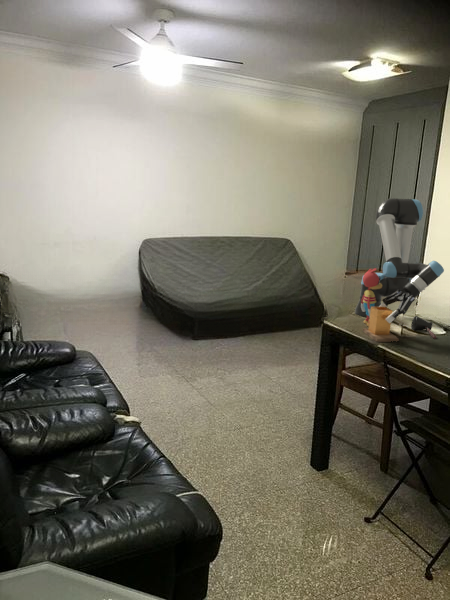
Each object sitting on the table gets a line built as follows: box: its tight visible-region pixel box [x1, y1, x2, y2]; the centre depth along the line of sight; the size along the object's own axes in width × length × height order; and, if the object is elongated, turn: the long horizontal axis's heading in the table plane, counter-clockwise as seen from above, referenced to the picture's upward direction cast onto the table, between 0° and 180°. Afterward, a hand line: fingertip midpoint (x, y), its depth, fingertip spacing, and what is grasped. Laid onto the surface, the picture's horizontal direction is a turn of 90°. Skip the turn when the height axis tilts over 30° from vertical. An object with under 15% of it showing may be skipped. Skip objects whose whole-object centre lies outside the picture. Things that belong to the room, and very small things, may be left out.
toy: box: [361, 267, 382, 328], centre depth 250 cm, size 15×10×30 cm
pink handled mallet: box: [410, 315, 437, 340], centre depth 243 cm, size 8×18×8 cm
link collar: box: [367, 306, 393, 335], centre depth 234 cm, size 7×7×12 cm
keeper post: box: [362, 327, 400, 343], centre depth 233 cm, size 16×11×10 cm
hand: (381, 317), depth 234 cm, fingers open, 13 cm apart
